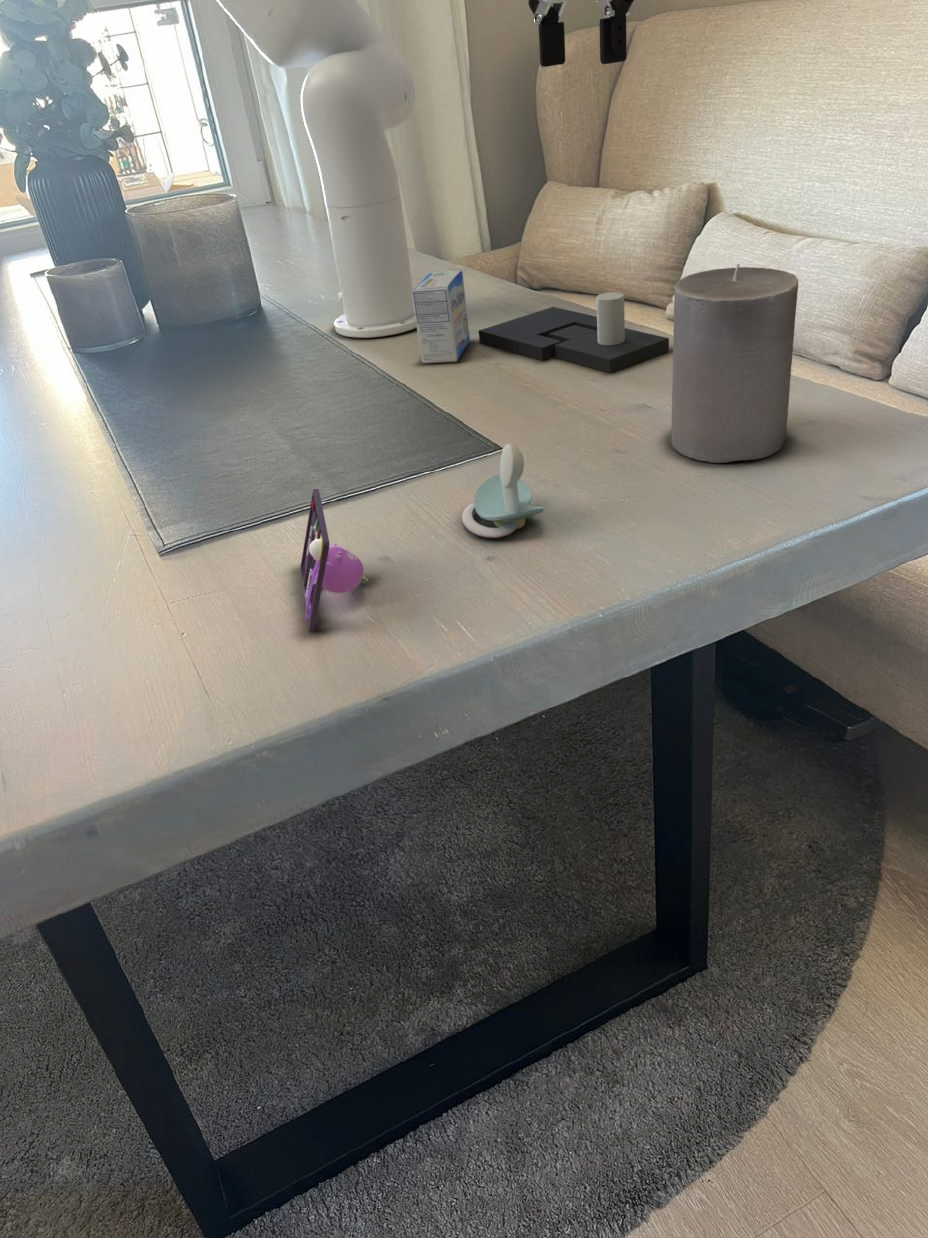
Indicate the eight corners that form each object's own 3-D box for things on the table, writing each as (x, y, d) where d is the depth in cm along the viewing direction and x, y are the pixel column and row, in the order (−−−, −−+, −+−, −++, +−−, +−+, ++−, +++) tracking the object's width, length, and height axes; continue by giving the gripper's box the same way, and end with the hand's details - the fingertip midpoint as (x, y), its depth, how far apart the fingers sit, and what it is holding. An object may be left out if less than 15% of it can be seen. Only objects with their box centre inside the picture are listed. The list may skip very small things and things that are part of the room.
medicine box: (457, 363, 109) (449, 286, 105) (420, 364, 110) (410, 288, 106) (470, 342, 116) (463, 269, 111) (435, 343, 117) (427, 271, 112)
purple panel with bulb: (303, 486, 67) (312, 541, 60) (373, 495, 69) (391, 550, 61) (290, 568, 71) (297, 630, 63) (358, 575, 72) (373, 637, 65)
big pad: (479, 342, 115) (478, 330, 114) (553, 318, 121) (553, 306, 120) (542, 360, 107) (541, 347, 106) (619, 333, 112) (619, 321, 111)
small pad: (532, 351, 110) (529, 294, 107) (589, 331, 114) (587, 276, 111) (610, 373, 101) (608, 312, 97) (669, 351, 105) (669, 291, 101)
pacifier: (476, 551, 71) (551, 533, 72) (465, 476, 67) (544, 457, 68) (454, 512, 77) (523, 495, 78) (442, 441, 73) (515, 424, 74)
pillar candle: (710, 414, 88) (717, 246, 80) (807, 434, 82) (824, 255, 74) (648, 449, 83) (648, 273, 75) (746, 474, 77) (758, 285, 68)
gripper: (668, -156, 88) (665, 56, 97) (549, -124, 100) (556, 62, 109) (609, -154, 84) (612, 65, 94) (493, -121, 97) (506, 70, 106)
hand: (582, 63), depth 102 cm, fingers open, 9 cm apart
